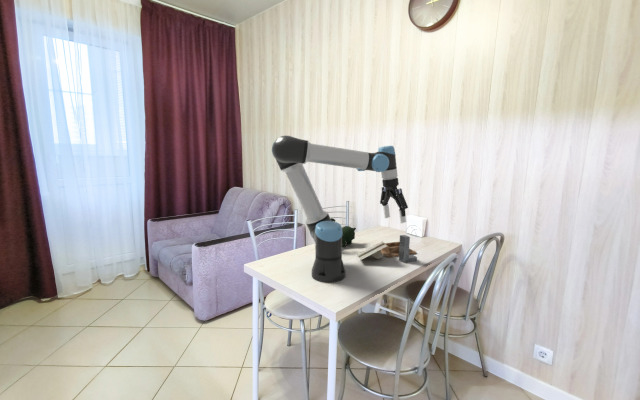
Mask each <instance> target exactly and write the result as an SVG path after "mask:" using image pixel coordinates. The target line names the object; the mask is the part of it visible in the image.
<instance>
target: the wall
mask: <svg viewBox="0 0 640 400" xmlns="http://www.w3.org/2000/svg"><path fill="white" fill-rule="evenodd" d="M384 243H385V242H384V241H383V240H382V241H380V242H378V243H376V244H374V245H372V246H371V247H369V248H366V249H365V250H362V251H361V252H359V253H357V257H358V259H359V260H360V261H362V260H363V259H365V258H367V257H370V256H372V257H374V258H375V259H376V260H380V259H382V258H384V255H383V254H382V252H381V249H383V248H385V247H387V245H386V244H384Z"/></svg>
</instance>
